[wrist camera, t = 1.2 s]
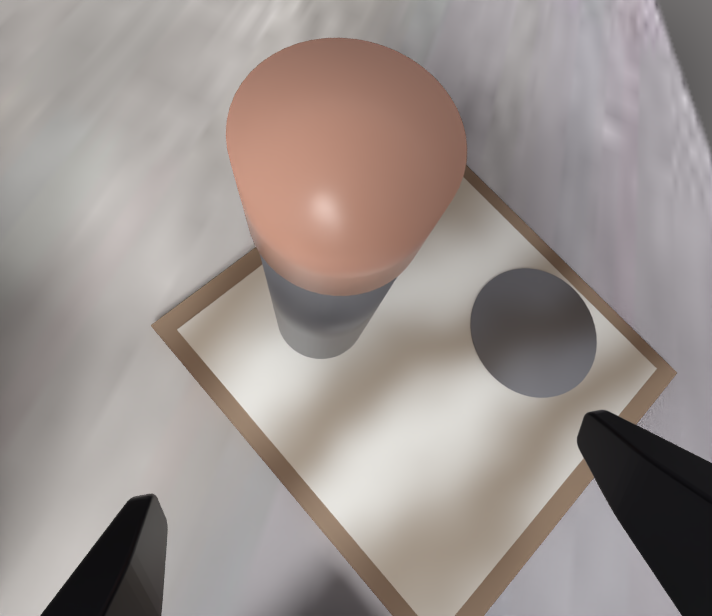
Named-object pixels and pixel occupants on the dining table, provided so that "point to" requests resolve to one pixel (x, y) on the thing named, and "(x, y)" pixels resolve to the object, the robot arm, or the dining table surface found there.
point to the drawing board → (430, 404)
